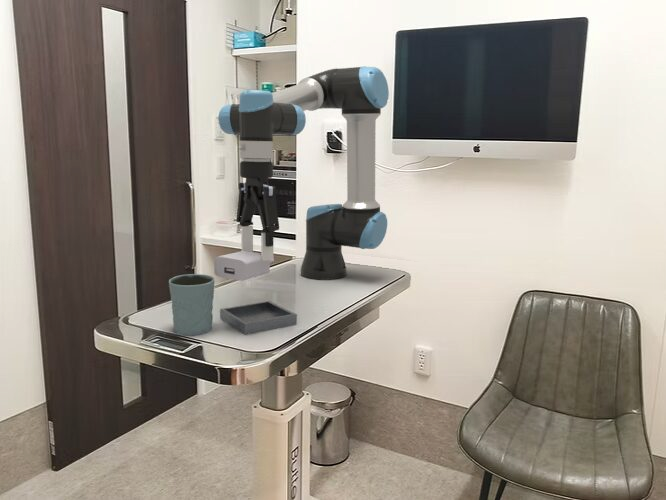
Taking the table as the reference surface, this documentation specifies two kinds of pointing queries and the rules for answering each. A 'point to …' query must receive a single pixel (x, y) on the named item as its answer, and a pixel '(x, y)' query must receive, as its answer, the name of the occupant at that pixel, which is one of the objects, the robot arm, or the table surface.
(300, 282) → the table surface
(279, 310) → the gray square tray
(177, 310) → the green cup
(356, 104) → the robot arm
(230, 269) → the charger
